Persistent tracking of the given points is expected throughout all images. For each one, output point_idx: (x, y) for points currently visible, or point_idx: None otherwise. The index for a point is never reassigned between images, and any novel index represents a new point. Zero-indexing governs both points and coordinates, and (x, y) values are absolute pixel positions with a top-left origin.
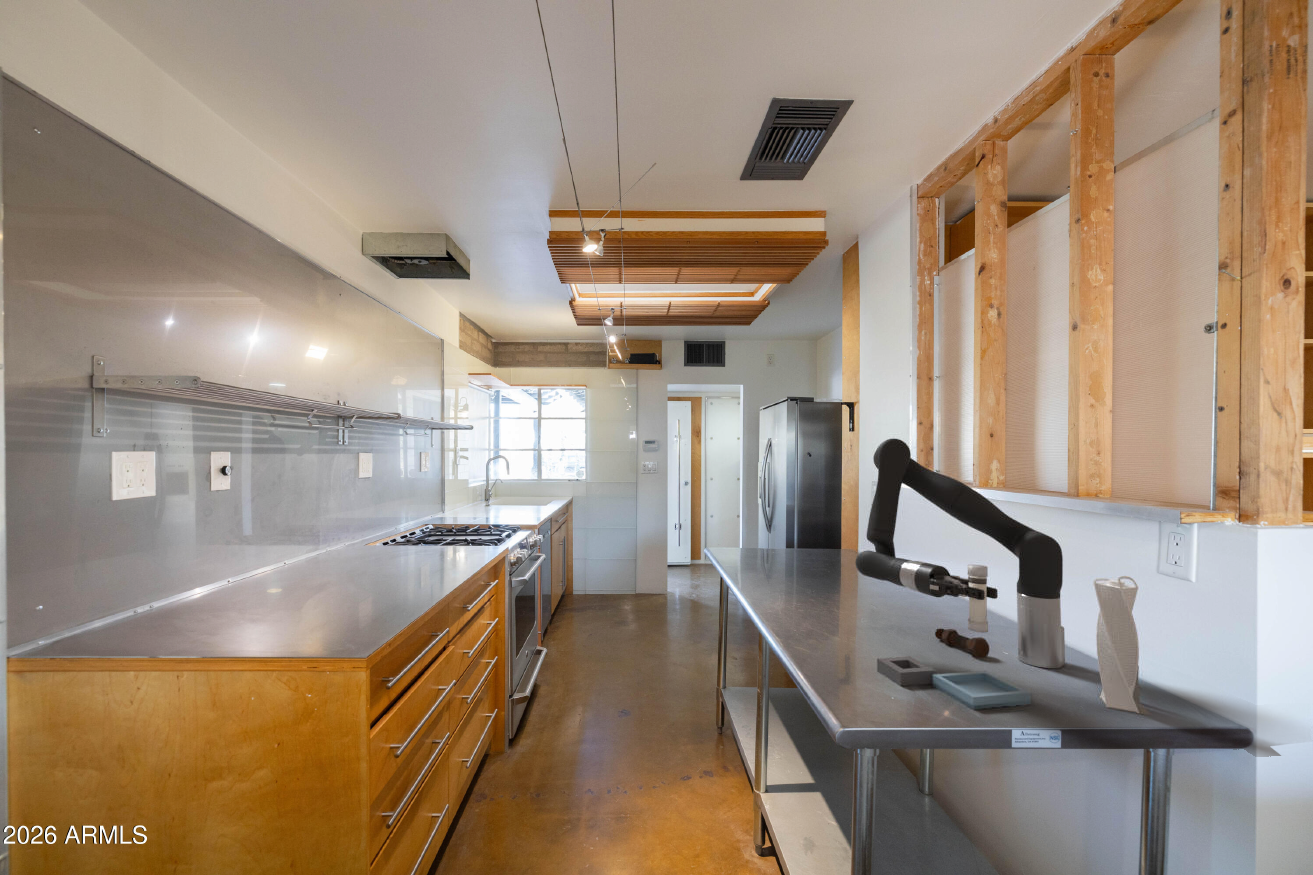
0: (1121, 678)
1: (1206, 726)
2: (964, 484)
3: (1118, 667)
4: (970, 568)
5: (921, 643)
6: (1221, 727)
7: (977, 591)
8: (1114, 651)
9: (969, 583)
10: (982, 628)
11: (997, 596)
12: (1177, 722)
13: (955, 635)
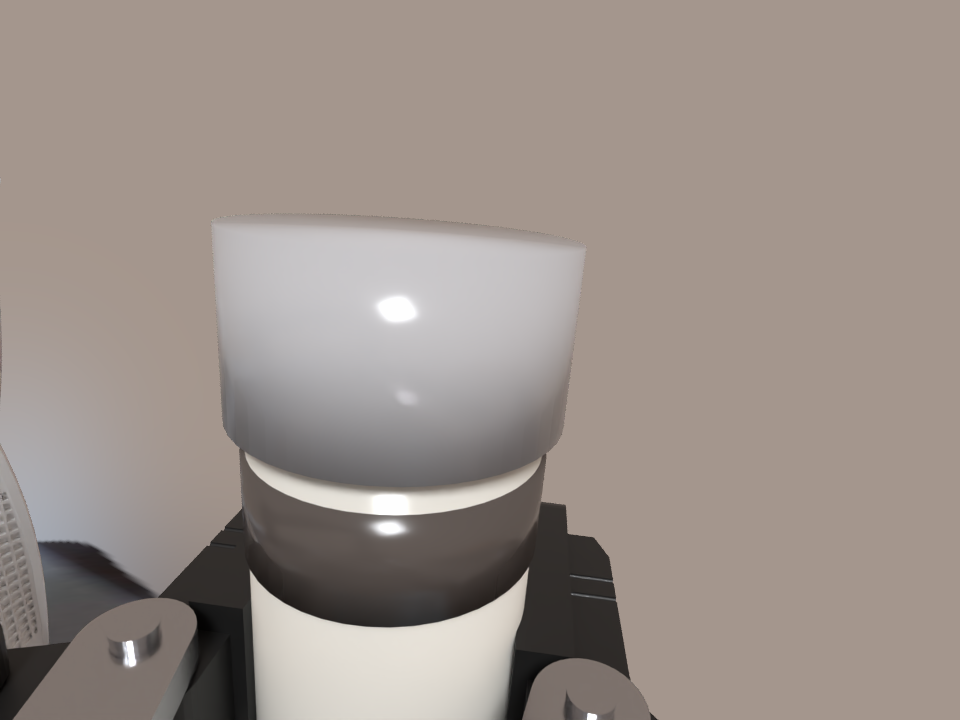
0: (32, 609)
1: (63, 571)
2: None
3: (32, 575)
4: (579, 293)
5: None
6: (47, 556)
7: (591, 544)
8: (29, 522)
9: (510, 605)
10: None
11: None
12: (77, 607)
13: None
